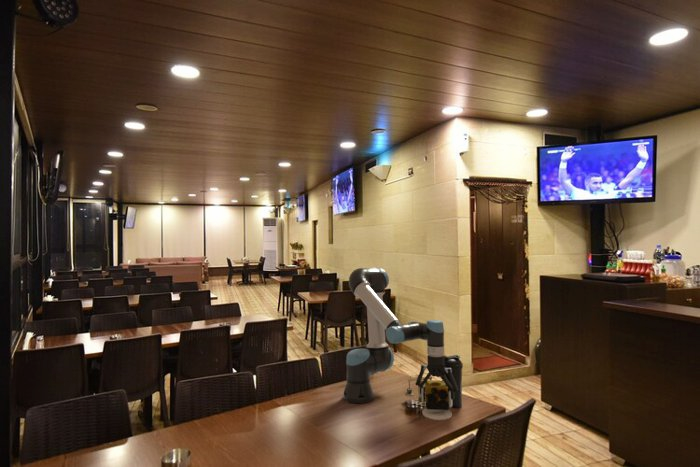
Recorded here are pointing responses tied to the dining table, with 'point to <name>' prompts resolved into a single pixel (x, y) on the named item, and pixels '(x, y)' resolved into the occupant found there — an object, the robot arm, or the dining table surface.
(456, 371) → the water bottle
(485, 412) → the dining table surface
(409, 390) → the balance
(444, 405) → the candle
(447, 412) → the dish
